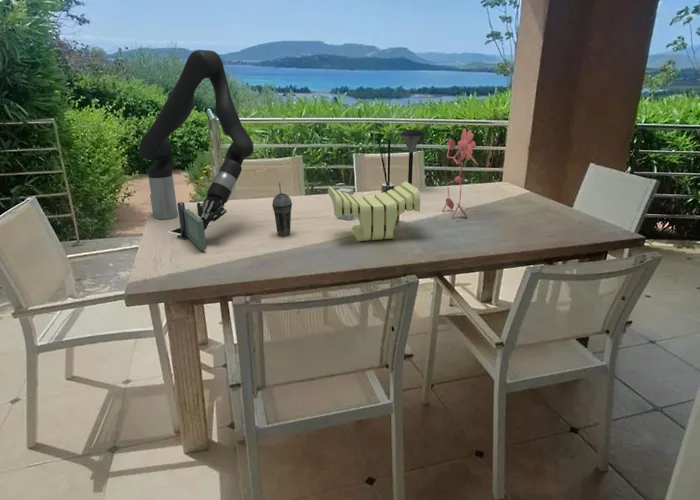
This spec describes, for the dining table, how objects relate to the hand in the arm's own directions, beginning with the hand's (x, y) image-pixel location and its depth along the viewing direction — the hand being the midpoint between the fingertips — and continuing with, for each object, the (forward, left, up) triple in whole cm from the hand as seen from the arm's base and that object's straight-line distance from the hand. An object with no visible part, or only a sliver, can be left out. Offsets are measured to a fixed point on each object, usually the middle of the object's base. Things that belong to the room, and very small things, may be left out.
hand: (200, 229), depth 169 cm
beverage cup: (+17, +24, -6) cm, 30 cm away
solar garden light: (+32, +103, -6) cm, 108 cm away
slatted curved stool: (+46, +40, -6) cm, 61 cm away
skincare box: (+26, +53, -6) cm, 59 cm away
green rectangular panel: (-2, 0, -5) cm, 6 cm away
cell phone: (-19, +11, -7) cm, 23 cm away
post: (-12, +3, -6) cm, 14 cm away
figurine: (+65, +83, -6) cm, 106 cm away
